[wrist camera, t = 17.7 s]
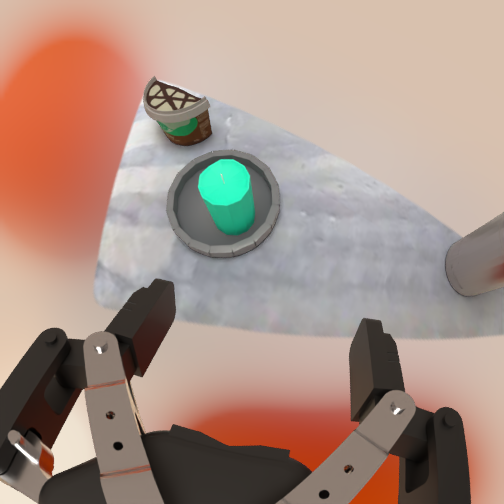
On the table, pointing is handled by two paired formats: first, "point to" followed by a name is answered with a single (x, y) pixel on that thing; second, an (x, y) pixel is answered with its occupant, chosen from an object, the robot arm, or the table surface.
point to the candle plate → (199, 218)
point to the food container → (177, 113)
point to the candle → (228, 196)
